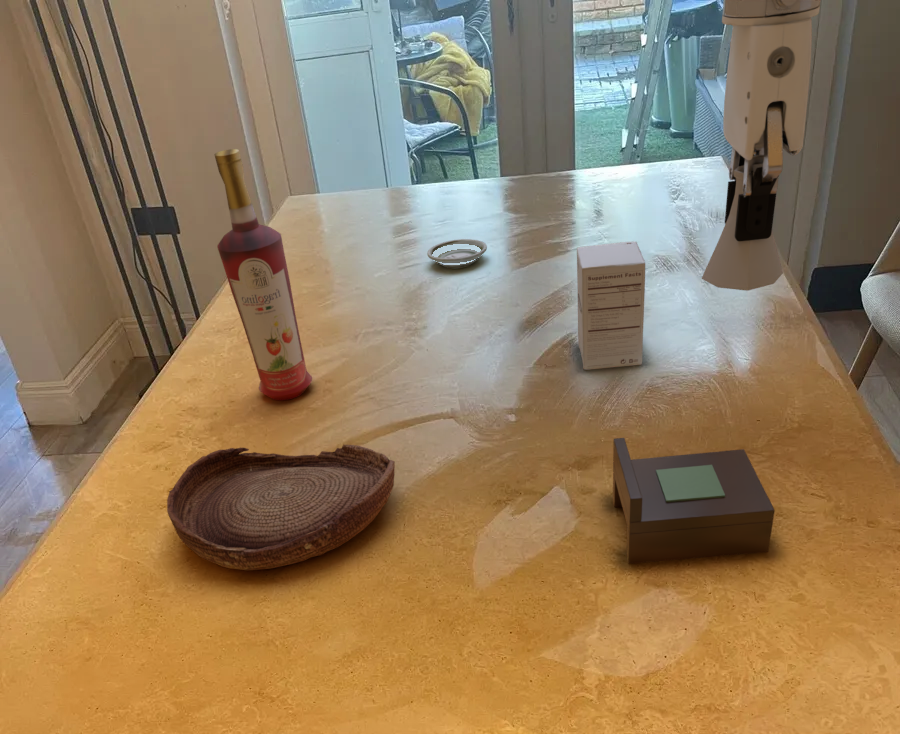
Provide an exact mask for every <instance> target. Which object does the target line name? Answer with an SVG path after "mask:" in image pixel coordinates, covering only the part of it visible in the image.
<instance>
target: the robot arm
mask: <svg viewBox="0 0 900 734" xmlns="http://www.w3.org/2000/svg"><path fill="white" fill-rule="evenodd" d="M821 1H822V0H723V2H722V3H723V4H722V16H721V23H722V24H723V25H726V26H732V30H731V37H730V38H731V39H730V42H729V51H728V53H729V54H728V62H727V69H726V70H727V71H726V81H725V91H724V100H723V101H724V104H723V116H722V117H723V120H722V122H723V123H722V126H723V128H722V129H723V135H724V139H725V140H726V141H727V143H728V144H729V145H730V146H731V154H730V162H729V170H728V178H729V181H727V191H726V192H727V193H726V201H725V213H724V225H725V224H726V222H727V219H728V217H729V214H730V211H731V207H732V203H733V200H734V196H735V189H736V177H734V170H735V169H736V168H738V167H739V166H743V165H744V179H743V194H739V196H738V206H737V216H736V227H735V239H736V240H737V241H749V240H758V239H767V238H769V237H770V236H771V233H772V231H773V224H774V217H775V207H776V201H777V192H778V187H779V178H780V175H781V173H782V172H783V170H784V169H783V168H784V151H785V152H786V153H787V154H789V155H790V156H796V155H798V154H799V153H800V152H801V151H802V150H803V147H804V140H805V132H806V131H805V129H806V120H807V111H808V101H809V100H808V99H809V88H810V79H811V78H810V77H811V64H812V47H813V46H812V42H813V40H812V39H813V38H812V36H813V28H812V27H813V26H812V25H813V22H812V18H814V17H816V16H818V15H819V14H820V8H821ZM755 164H762V167H759V168H756V171H755V172H754V175H753V168H754V165H755Z"/></svg>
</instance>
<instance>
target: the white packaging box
mask: <svg viewBox="0 0 900 734" xmlns="http://www.w3.org/2000/svg"><path fill="white" fill-rule="evenodd" d="M576 272H577V273H576V276H577V277H576V278H577V279H576V281H577V290H576V291H577V343H578V344H577V345H578V348H579V351H580V355H581V361H582V368H583V370H585V371H587V370H589V371H590V370H598V369H608V368H610V369H611V368H619V367H630V366H631V367H632V366H641V365H643V353H644V352H643V350H644V347H643V346H644V322H645V320H644V319H645V296H646V295H645V293H646V261H645V259H644V255H643V254H642V250H641V249H640V247H639V245H638V242H637V241H634V240H633V241H621V242H612V243H604V244H602V243H601V244H595V245H585V246H578V247H577V248H576Z"/></svg>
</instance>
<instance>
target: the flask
mask: <svg viewBox="0 0 900 734" xmlns="http://www.w3.org/2000/svg"><path fill="white" fill-rule="evenodd" d="M759 167H762V164H755V165H754V168H753V175H754V172H755V171H756V168H759ZM734 177H736V189H735V196H734V200H733V203H732V207H731V211H730V214H729V217H728V219H727V222H726V224H725V223H724V227H723V229H722V230H721V234H720V236H719V238H718V241H717V243H716V245H715V247H714V250H713V252H712V254H711V256H710V258H709V261H708V262H707V265H706V267H705V270H704V272H703V274H702V277H701V280H703V281H705V282H707V283H708V284H710V285H713V286H714V287H716V288H719V289H728V290H736V291H746V292H748V291H751V290H755V289H759V288H763V287H767V286H770V285H771V286H772V285H774V284H775V283H776V282H777V281H778V280H779V278H780V277H782V275H783V274H784V271H783V266H782V262H781V259H780V258H781V257H780V254H779V252H778V248H777V244H776V240H775V236H774V231H773V230H772V233H771V236H770V237H769V238H767V239H758V240H749V241H737V240H736V239H735V227H736V216H737V206H738V196H739V194H743V179H744V165H743V166H739V167H738V168H736V169H735V170H734Z"/></svg>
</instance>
